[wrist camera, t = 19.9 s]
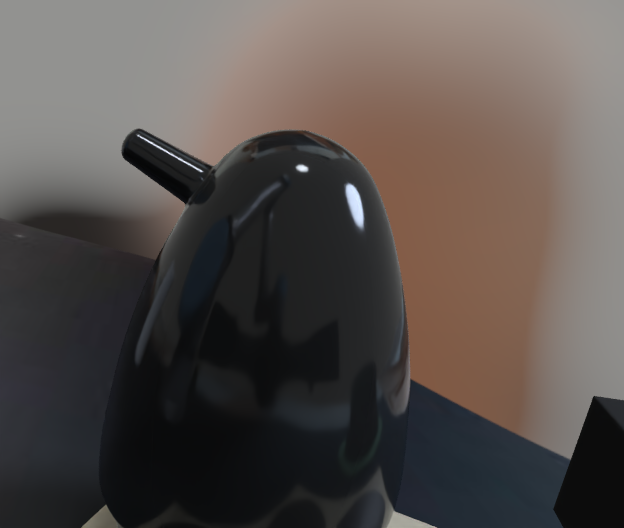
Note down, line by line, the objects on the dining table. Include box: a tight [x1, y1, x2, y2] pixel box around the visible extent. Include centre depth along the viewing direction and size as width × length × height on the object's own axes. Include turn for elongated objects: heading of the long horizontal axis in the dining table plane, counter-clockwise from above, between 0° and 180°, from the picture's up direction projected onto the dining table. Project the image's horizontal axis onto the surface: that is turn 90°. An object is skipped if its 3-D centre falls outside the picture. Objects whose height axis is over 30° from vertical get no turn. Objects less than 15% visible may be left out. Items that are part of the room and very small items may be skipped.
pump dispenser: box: [99, 129, 410, 528], centre depth 19 cm, size 10×10×15 cm
